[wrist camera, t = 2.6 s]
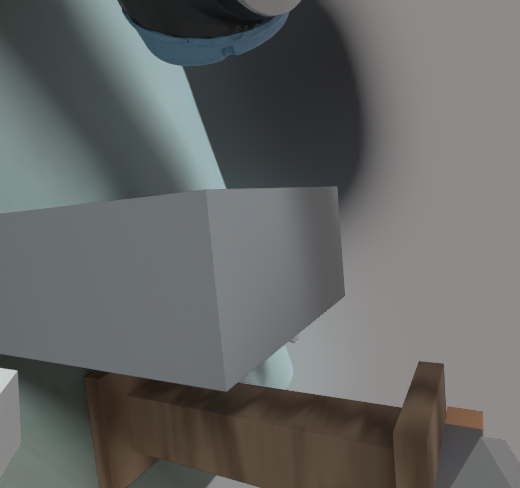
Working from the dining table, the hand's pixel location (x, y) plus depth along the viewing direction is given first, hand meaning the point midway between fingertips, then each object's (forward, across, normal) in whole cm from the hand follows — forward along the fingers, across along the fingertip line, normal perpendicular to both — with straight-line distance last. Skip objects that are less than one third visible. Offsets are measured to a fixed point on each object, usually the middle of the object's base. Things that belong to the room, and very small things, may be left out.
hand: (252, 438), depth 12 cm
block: (+27, -15, -11) cm, 33 cm away
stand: (+26, -8, -28) cm, 39 cm away
